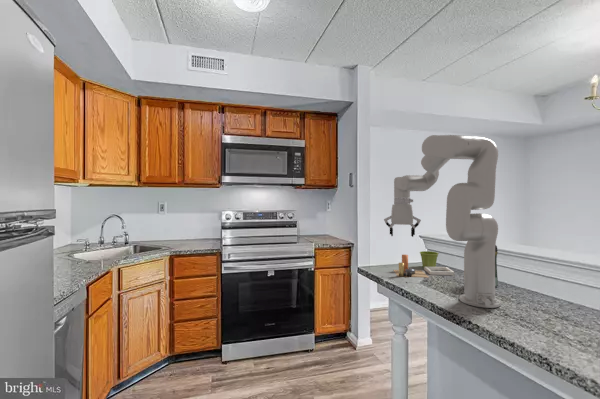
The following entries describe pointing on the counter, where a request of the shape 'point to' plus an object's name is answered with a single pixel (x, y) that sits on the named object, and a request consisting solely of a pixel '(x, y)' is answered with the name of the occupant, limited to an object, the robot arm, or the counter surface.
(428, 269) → the tray
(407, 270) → the crank
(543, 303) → the counter surface
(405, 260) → the pin
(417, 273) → the crank base
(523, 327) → the counter surface
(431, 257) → the plant pot
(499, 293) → the counter surface
